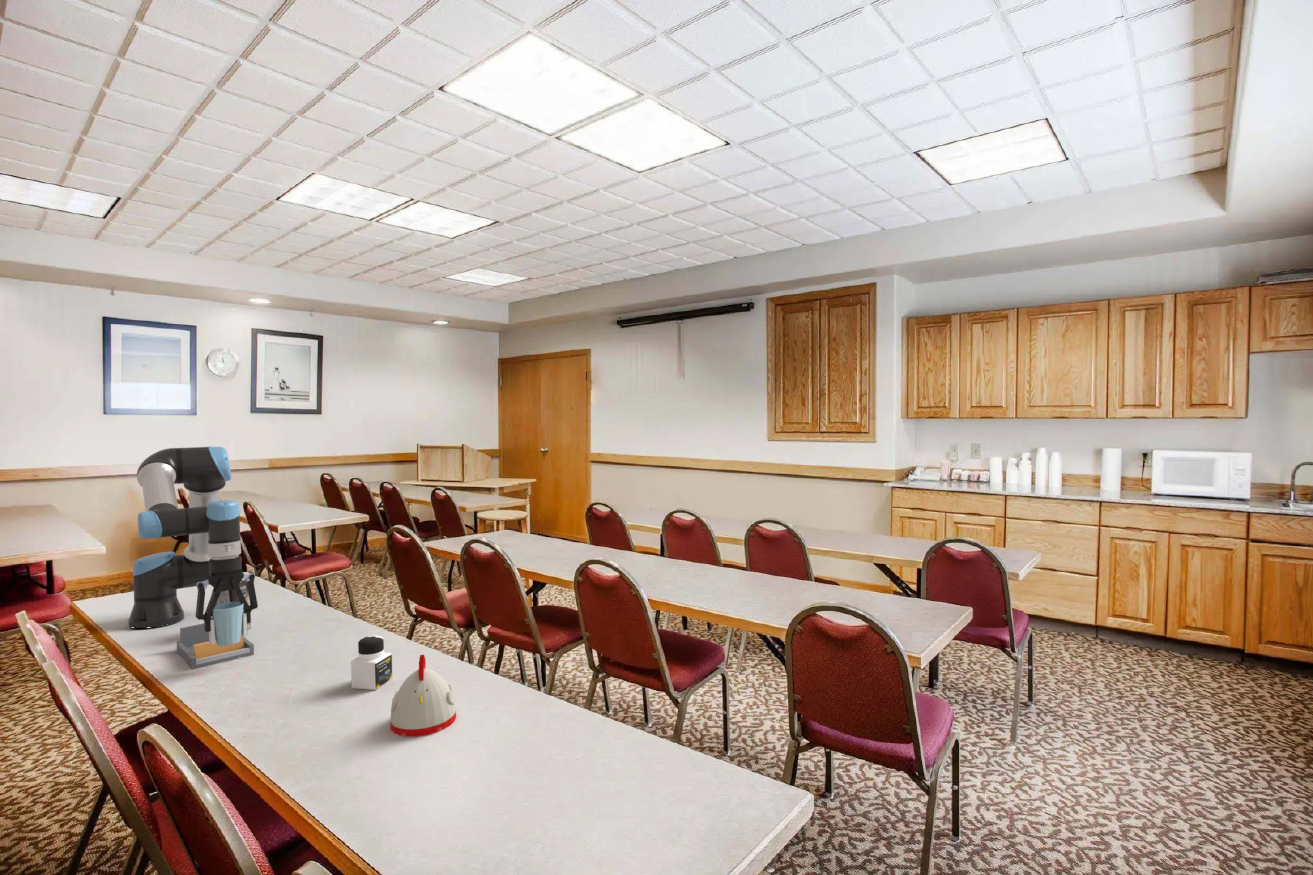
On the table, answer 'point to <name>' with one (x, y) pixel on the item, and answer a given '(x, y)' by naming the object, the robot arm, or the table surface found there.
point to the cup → (228, 623)
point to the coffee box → (231, 596)
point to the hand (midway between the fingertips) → (228, 639)
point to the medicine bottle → (371, 664)
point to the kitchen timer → (422, 704)
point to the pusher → (215, 648)
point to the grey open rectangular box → (199, 635)
